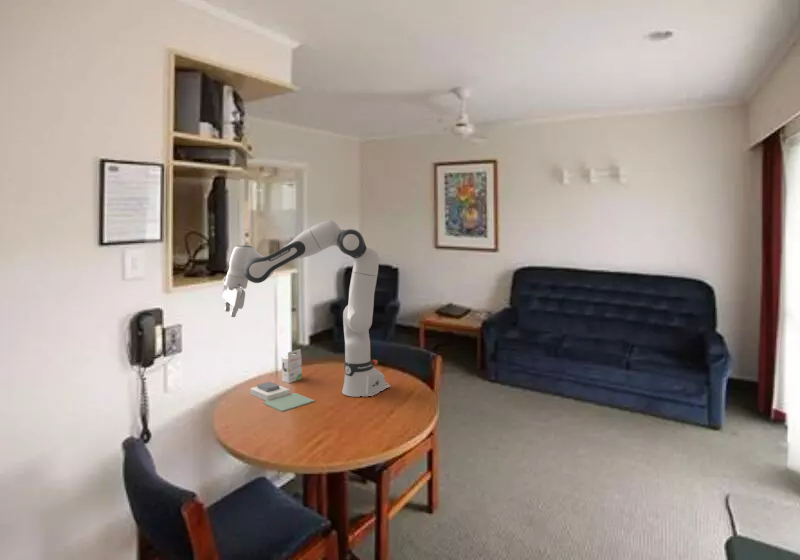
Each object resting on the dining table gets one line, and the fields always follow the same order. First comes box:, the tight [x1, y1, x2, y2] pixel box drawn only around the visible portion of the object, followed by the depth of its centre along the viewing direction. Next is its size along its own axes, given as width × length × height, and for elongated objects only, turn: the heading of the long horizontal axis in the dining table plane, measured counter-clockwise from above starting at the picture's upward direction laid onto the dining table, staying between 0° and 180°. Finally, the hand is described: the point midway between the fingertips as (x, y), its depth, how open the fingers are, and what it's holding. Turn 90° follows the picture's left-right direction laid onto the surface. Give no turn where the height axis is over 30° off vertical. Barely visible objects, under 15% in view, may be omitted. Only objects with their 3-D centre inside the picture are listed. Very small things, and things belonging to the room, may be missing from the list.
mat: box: [262, 392, 316, 413], centre depth 206 cm, size 16×14×1 cm
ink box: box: [281, 348, 303, 384], centre depth 235 cm, size 9×5×15 cm, turn 144°
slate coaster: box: [256, 381, 280, 392], centre depth 216 cm, size 6×8×2 cm
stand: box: [249, 385, 291, 402], centre depth 216 cm, size 11×14×2 cm
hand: (229, 313), depth 210 cm, fingers open, 8 cm apart
